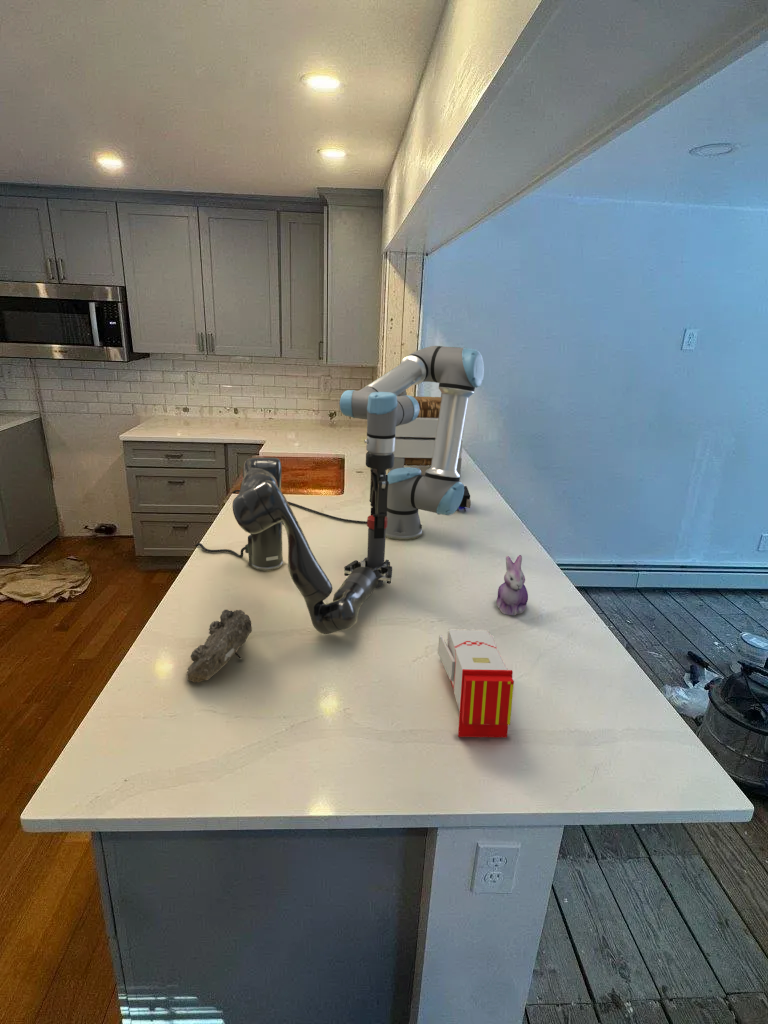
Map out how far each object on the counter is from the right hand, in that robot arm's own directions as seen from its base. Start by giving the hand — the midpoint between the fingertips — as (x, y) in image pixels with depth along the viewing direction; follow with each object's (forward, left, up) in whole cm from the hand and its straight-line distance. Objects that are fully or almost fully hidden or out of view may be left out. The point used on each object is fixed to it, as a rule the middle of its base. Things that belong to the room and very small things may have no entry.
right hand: (376, 533), depth 157 cm
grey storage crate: (-77, +93, -16) cm, 122 cm away
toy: (+49, -15, -16) cm, 54 cm away
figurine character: (-31, +71, -16) cm, 79 cm away
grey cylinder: (0, 0, -16) cm, 16 cm away
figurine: (+33, +21, -16) cm, 42 cm away
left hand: (-1, +2, -10) cm, 10 cm away
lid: (0, 0, +4) cm, 4 cm away
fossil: (+8, -50, -16) cm, 53 cm away
